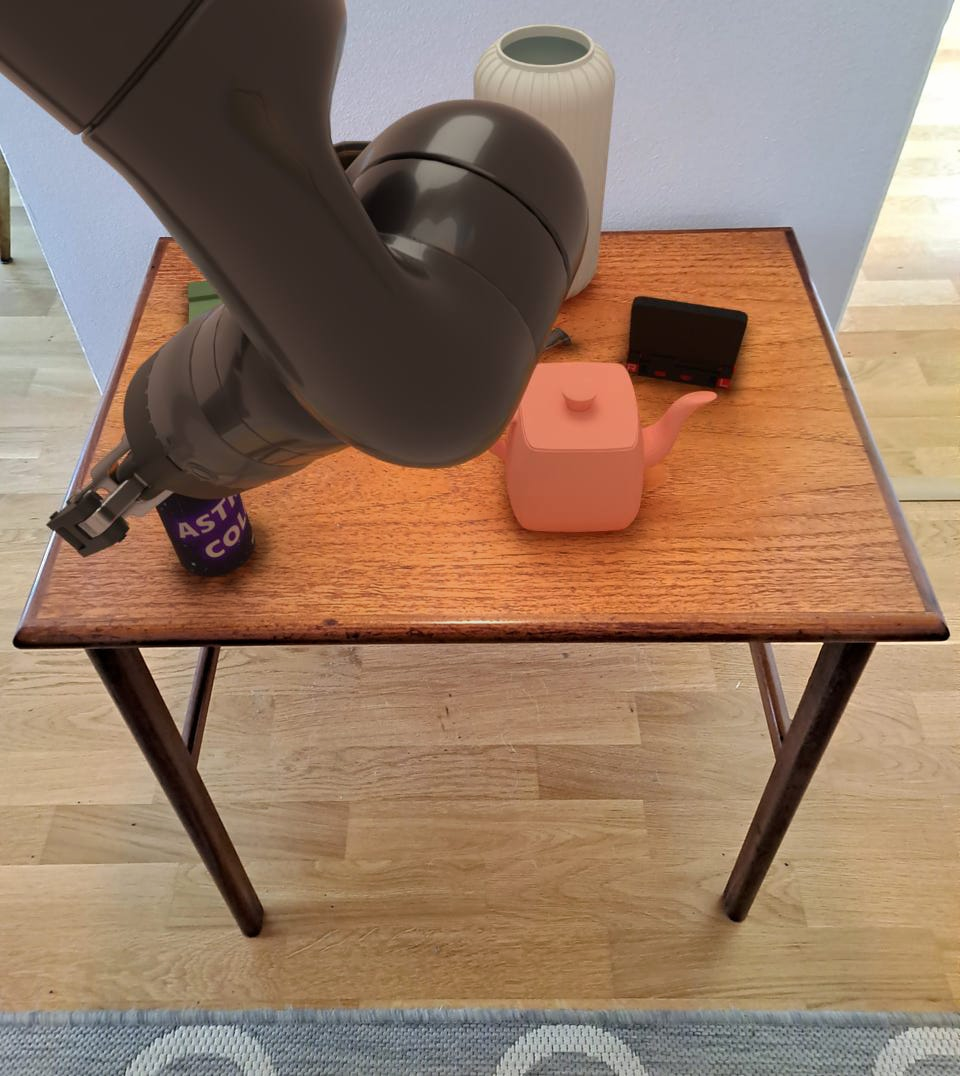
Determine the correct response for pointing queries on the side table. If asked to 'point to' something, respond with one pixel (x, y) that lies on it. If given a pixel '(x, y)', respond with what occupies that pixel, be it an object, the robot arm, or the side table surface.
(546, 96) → the vase
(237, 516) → the beverage can
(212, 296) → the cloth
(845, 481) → the side table surface
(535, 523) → the teapot
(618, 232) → the side table surface
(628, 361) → the handheld gaming console
